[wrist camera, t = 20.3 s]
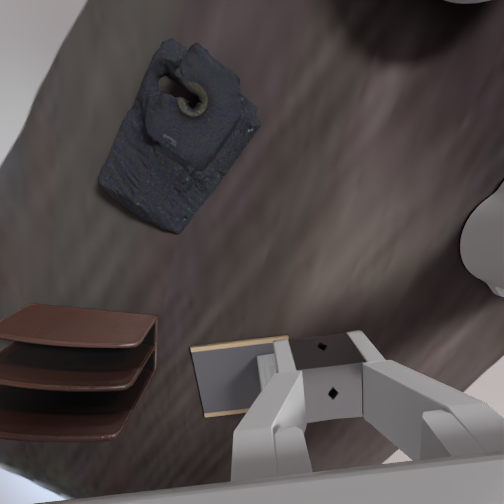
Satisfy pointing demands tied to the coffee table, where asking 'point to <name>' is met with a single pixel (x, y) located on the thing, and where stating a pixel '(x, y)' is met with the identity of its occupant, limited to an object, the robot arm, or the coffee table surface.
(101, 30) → the coffee table surface
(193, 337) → the coffee table surface
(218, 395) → the mat
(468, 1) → the serving bowl
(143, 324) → the letter holder
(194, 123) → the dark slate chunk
